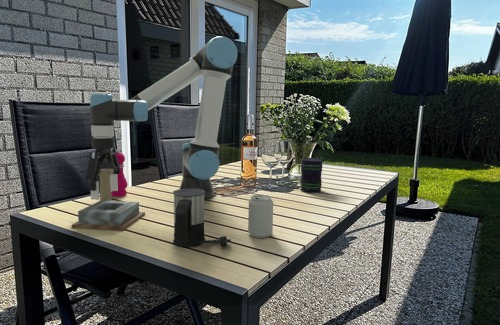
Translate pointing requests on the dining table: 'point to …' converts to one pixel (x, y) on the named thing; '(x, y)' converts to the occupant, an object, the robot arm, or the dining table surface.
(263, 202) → the can
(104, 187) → the handle
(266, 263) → the dining table surface
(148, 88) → the robot arm
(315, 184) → the storage jar
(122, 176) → the pepper mill
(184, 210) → the milk frother
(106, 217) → the frame
